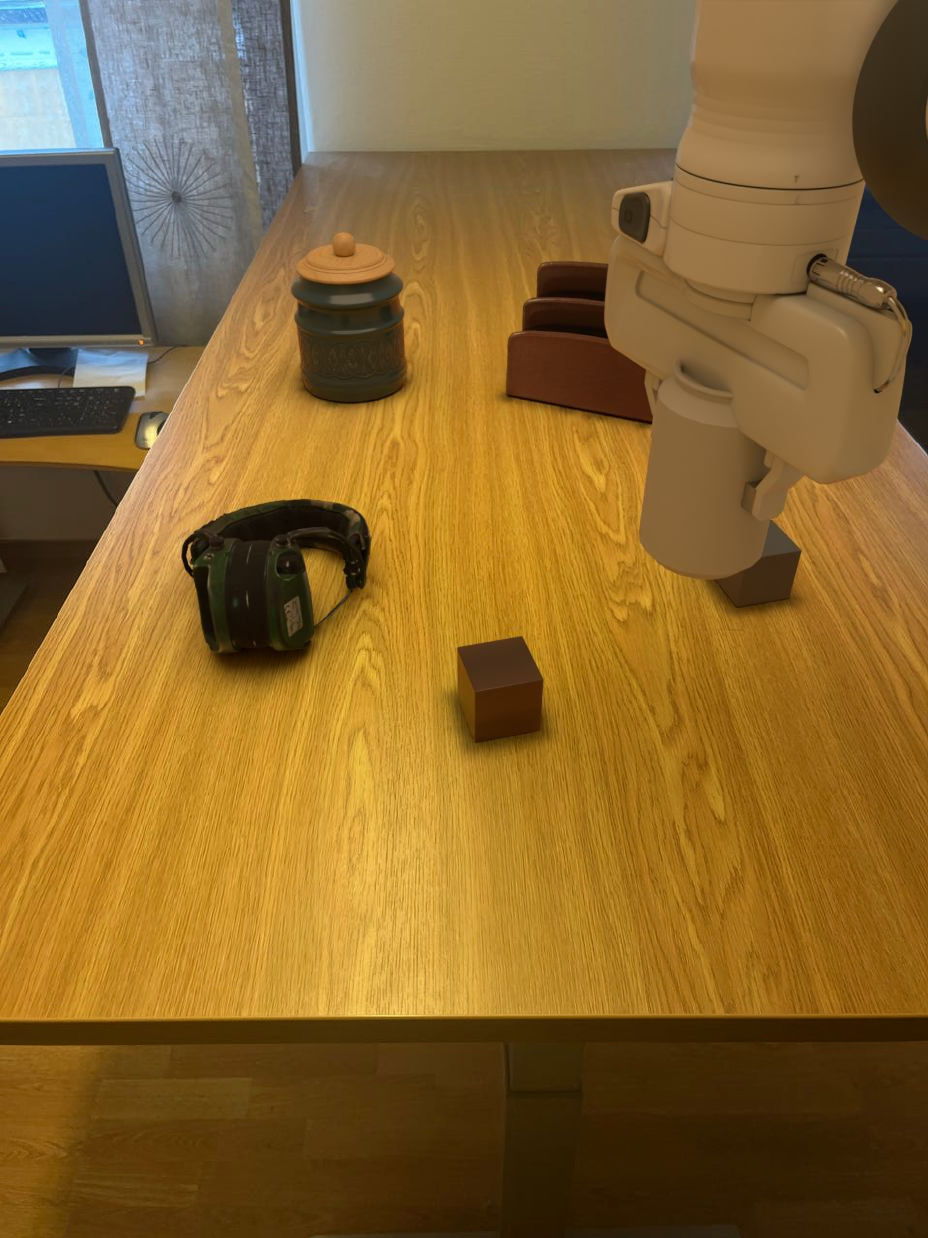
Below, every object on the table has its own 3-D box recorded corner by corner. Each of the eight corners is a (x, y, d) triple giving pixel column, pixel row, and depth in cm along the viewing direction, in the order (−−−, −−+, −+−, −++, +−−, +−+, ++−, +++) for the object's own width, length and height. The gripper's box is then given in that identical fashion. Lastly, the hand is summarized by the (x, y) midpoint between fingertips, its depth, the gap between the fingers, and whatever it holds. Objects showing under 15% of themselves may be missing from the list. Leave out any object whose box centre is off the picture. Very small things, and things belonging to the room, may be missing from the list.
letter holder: (535, 365, 120) (540, 251, 111) (689, 392, 113) (707, 274, 105) (504, 396, 113) (507, 277, 104) (667, 427, 106) (684, 303, 97)
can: (631, 578, 56) (656, 389, 48) (642, 512, 62) (666, 334, 54) (761, 595, 55) (808, 403, 47) (760, 527, 60) (801, 346, 53)
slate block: (789, 598, 81) (802, 550, 78) (736, 607, 80) (747, 559, 77) (760, 566, 85) (771, 518, 82) (710, 574, 84) (719, 527, 81)
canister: (330, 354, 123) (316, 212, 112) (423, 367, 119) (418, 222, 108) (283, 395, 113) (263, 244, 102) (382, 411, 110) (372, 256, 99)
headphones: (389, 615, 70) (389, 511, 88) (244, 503, 65) (275, 415, 82) (276, 726, 74) (297, 605, 92) (132, 629, 69) (183, 520, 87)
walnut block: (540, 730, 69) (544, 679, 66) (474, 743, 68) (474, 691, 65) (520, 685, 73) (522, 635, 70) (457, 697, 72) (456, 646, 69)
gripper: (975, 286, 40) (884, 555, 49) (688, 175, 55) (657, 398, 63) (862, 309, 38) (788, 586, 47) (595, 187, 52) (576, 416, 61)
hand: (711, 476), depth 55 cm, fingers closed on can, 7 cm apart
